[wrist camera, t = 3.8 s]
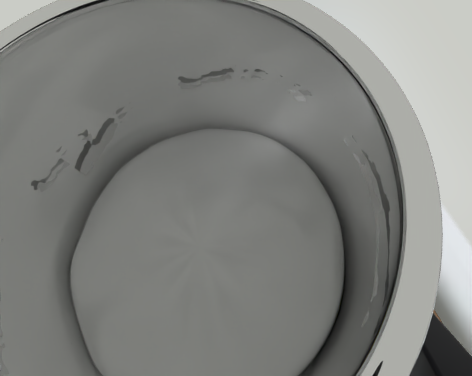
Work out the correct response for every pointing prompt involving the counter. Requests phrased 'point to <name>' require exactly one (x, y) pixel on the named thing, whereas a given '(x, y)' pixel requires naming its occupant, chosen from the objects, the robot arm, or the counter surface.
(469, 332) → the counter surface
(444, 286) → the counter surface
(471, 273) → the counter surface
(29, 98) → the silver metal cup
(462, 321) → the counter surface
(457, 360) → the robot arm
